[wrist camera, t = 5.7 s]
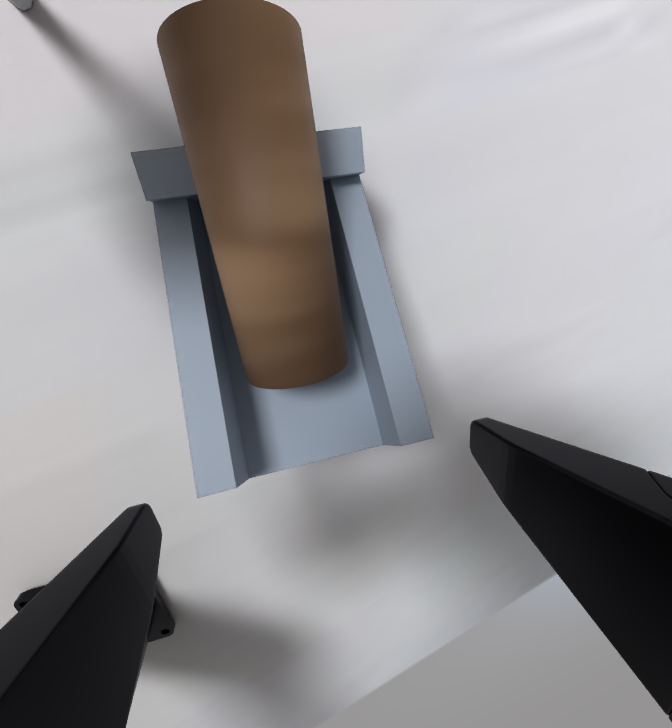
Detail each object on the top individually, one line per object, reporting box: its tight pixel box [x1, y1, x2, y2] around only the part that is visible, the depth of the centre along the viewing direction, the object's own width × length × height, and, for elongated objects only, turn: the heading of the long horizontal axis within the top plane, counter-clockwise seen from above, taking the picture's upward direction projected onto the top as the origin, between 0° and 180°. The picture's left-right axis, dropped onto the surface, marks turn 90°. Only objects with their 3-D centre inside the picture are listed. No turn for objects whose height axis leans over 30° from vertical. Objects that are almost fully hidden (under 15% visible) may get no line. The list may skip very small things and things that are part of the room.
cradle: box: [131, 127, 434, 498], centre depth 12 cm, size 11×7×8 cm, turn 8°
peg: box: [157, 0, 349, 389], centre depth 9 cm, size 3×3×8 cm
